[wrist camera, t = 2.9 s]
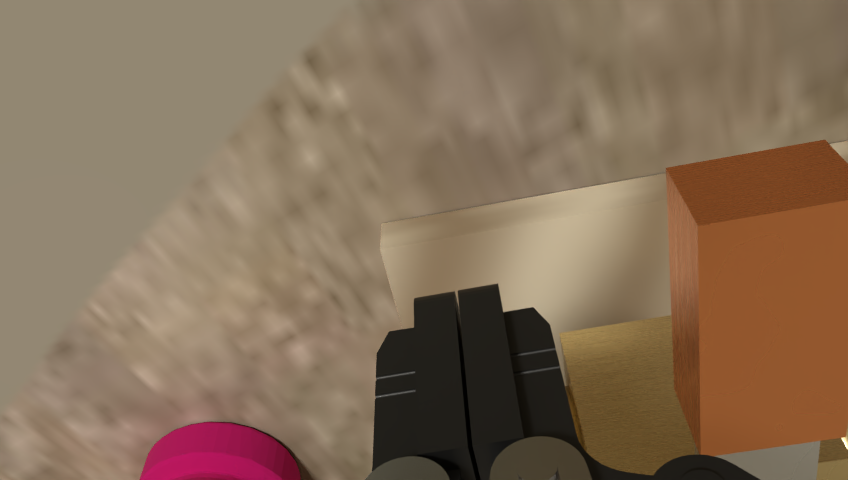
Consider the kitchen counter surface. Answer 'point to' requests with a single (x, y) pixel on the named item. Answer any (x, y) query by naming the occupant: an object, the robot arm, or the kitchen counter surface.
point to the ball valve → (641, 399)
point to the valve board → (546, 254)
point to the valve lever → (761, 305)
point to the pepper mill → (219, 455)
